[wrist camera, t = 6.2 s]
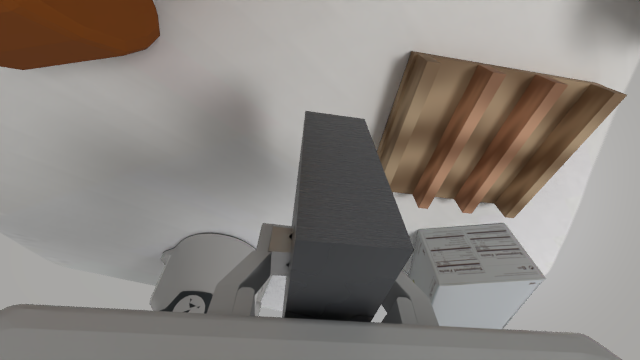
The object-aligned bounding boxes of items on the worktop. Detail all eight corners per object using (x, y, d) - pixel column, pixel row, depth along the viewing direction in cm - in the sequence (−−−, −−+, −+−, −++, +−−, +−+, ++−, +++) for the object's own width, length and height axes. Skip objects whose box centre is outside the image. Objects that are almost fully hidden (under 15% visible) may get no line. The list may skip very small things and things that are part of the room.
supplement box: (415, 228, 39) (438, 285, 31) (504, 221, 38) (549, 278, 30) (405, 284, 49) (421, 337, 42) (475, 280, 48) (503, 333, 41)
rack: (500, 199, 35) (515, 218, 32) (366, 183, 33) (370, 202, 30) (595, 82, 25) (630, 95, 22) (411, 51, 23) (424, 60, 20)
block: (330, 244, 19) (338, 375, 12) (289, 240, 18) (276, 373, 12) (364, 119, 13) (414, 249, 6) (305, 110, 12) (295, 239, 6)
